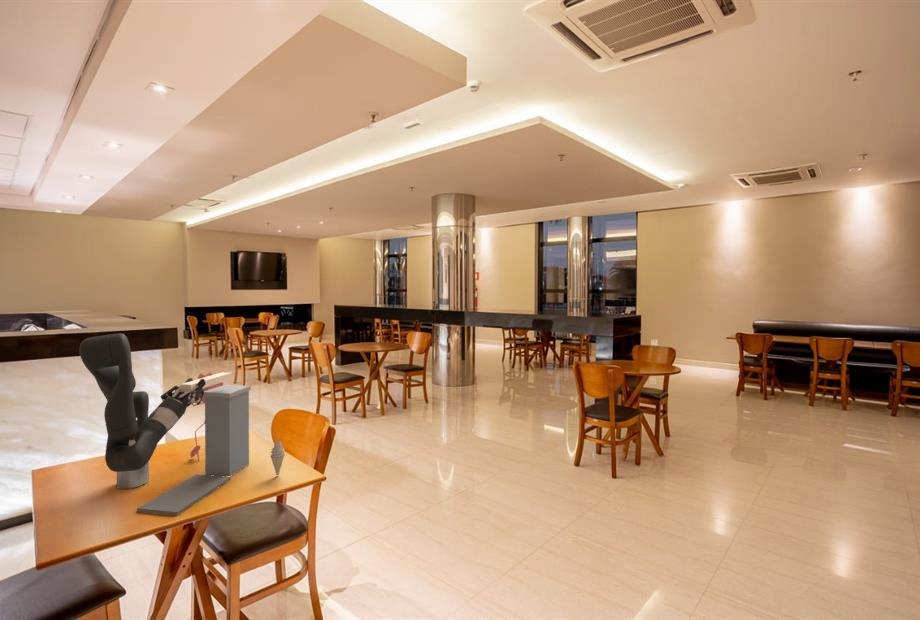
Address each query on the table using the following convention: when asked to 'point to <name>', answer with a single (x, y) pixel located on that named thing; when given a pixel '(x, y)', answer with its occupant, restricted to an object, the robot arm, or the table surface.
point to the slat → (207, 381)
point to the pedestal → (226, 429)
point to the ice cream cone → (277, 456)
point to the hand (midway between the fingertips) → (197, 380)
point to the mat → (183, 495)
